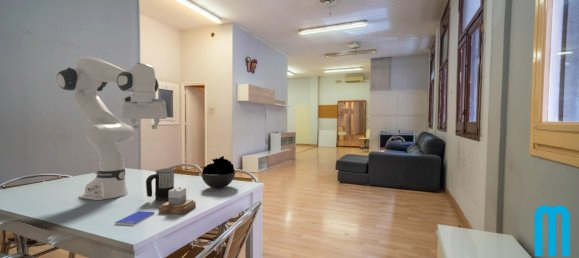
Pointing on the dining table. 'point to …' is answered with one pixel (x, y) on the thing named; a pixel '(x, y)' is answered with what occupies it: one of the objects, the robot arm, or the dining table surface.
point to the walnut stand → (177, 207)
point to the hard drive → (134, 218)
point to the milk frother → (161, 184)
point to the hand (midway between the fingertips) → (145, 128)
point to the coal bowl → (218, 173)
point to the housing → (177, 195)
